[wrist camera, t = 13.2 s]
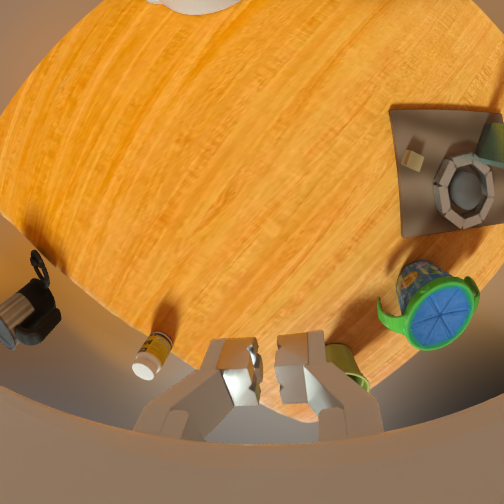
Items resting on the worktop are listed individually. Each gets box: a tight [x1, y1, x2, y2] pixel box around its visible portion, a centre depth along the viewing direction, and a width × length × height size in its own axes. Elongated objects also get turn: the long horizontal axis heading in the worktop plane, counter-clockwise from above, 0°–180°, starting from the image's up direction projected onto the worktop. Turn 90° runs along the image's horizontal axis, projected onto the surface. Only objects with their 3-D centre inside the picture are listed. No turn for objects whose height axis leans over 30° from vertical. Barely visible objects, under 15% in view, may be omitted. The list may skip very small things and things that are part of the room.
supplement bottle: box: [132, 332, 173, 380], centre depth 45 cm, size 5×5×8 cm
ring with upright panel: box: [433, 123, 504, 230], centre depth 24 cm, size 13×13×14 cm
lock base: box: [389, 110, 504, 238], centre depth 30 cm, size 17×20×3 cm
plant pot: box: [325, 344, 370, 393], centre depth 41 cm, size 9×9×9 cm
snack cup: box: [377, 260, 480, 350], centre depth 34 cm, size 16×10×10 cm
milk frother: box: [0, 250, 61, 350], centre depth 42 cm, size 14×16×15 cm
